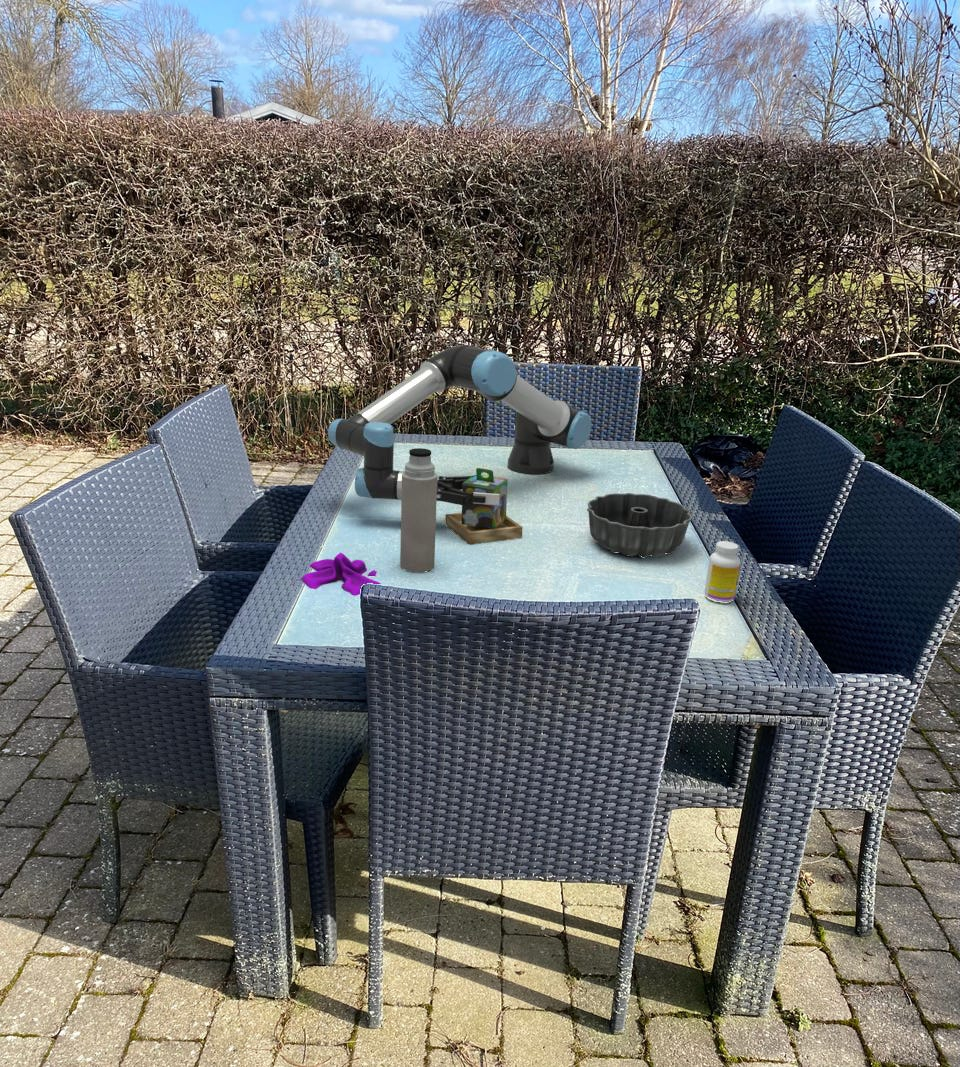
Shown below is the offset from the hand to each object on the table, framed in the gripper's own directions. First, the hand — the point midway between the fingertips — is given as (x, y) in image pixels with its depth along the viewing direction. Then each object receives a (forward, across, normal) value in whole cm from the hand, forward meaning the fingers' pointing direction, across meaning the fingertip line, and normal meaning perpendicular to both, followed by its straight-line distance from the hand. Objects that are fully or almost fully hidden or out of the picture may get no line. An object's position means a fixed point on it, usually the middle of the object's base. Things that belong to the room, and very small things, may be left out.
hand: (500, 492), depth 229 cm
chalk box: (-4, 0, -9) cm, 10 cm away
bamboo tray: (-4, 0, -11) cm, 12 cm away
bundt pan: (+35, +2, -11) cm, 37 cm away
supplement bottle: (+52, +32, -11) cm, 62 cm away
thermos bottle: (-17, +27, -11) cm, 34 cm away
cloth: (-33, +35, -12) cm, 49 cm away
